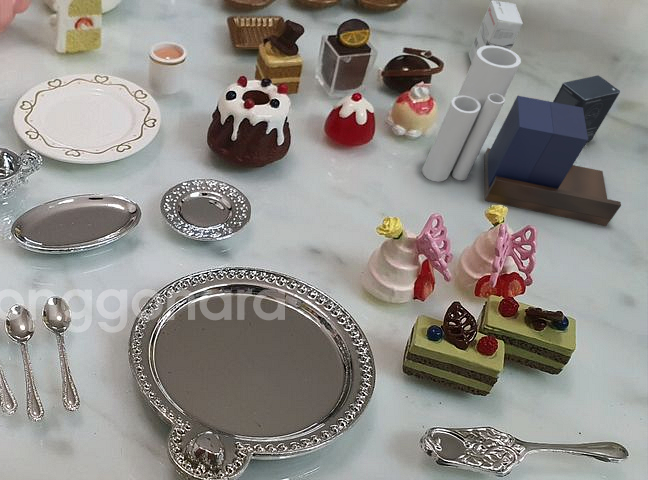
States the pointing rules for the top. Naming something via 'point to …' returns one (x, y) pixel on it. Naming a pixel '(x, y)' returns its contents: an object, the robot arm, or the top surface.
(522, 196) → the shelf
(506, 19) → the ink box
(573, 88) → the box
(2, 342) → the top surface
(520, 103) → the matching cartons
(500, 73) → the vase
